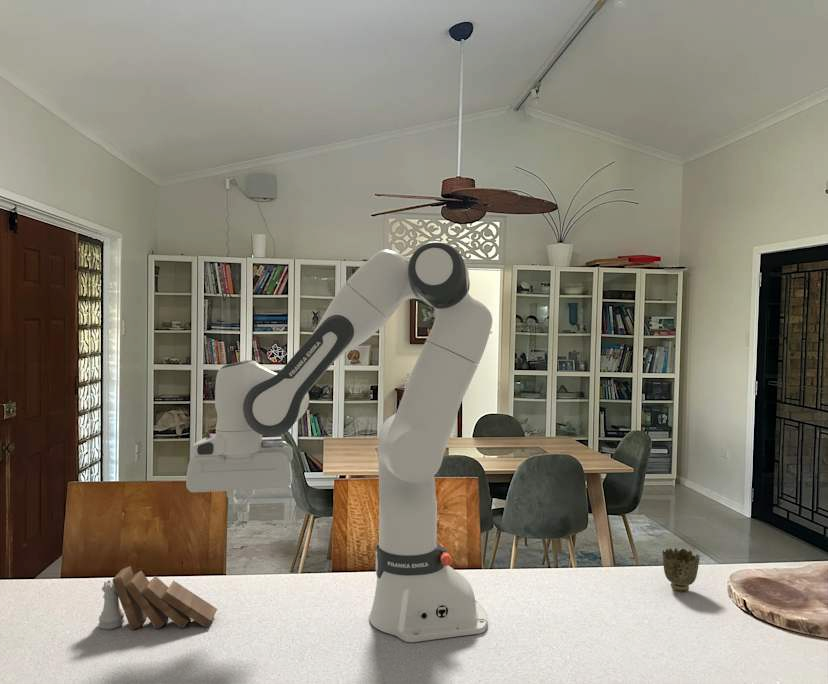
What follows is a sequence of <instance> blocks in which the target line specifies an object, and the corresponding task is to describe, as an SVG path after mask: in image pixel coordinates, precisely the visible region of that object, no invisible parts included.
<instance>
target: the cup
mask: <svg viewBox="0 0 828 684" xmlns="http://www.w3.org/2000/svg"><path fill="white" fill-rule="evenodd" d="M661 554H662V562H663V563H662V564H663V565H662V566H663V572H664V575H665V577H666V579H667V581H669V582H670V588H671V589H672V590H673V591H674V592H677V593H687V592H688V591H689V590H690V585H693V584H694V583H695V581H696V579H697V575H698V569H699V563H700V558H701V556H699V553H696V554H695V555H693V551H691V550H689V551H688V550H687V549H684V548H682V549H679V550H678V548H676V547H675V548H674V550H673V549H672V548H671V547H670V548H665V550H664V549H663V551H661Z"/></svg>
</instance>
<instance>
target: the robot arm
mask: <svg viewBox="0 0 828 684" xmlns="http://www.w3.org/2000/svg"><path fill="white" fill-rule="evenodd" d="M469 275H470V274H469V269H468V265H467V264H466V261H465V260H464V258H463V255H461V253H460V251H459V250H458V249H456V247H454V246H452V245H451V244H449V243H446V242H442V241H430V242H427V243H425V244H423V245H421V246H419V247H418V248H417V249H416V250H414V252H413V253H412V255H411V257H410V259H409V258H406V257H404V256H403V255H402V254H401V253H399V252H397V251H394V250H390V249H382V250H379V251H377V252H376V253H375V254H373V255H372V256H370V258H369V259H368V260H366V261H365V262H364V263H363V264H362V265H361V266H359V268H358V269H356V270H355V272H354V273H353V274H352V275H351V276H350V277H349V278H348V279H347V281H346V282H345V283H344V284H343V285H342V286H341V287H340V289H339V290H338V291H337V293H336V294H335V296H334V297H333V299H332V300H331V302H330V304H329V305H328V307H327V308H326V311H324V313H323V315H322V318H321V319H320V321H319V323H318V324H317V326H316V327H315V329H314V331H313V332H312V334H311V335H310V337H309V338H308V339H307V340H306V341H305V342H304V343H303V344H302V346H301V347H300V348H299V350H297V352H295V353H294V355H293V356H292V358H290V360H288V362H287V363H286V364H285V365H284V366H283V367H282V369H281V370H279V371H278V372H275V371H273V370H270V369H268V368H266V367H264V366H262V365H261V364H260V363H258V362H257V361H256V360H252V359H247V360H241V361H237V362H234V363H233V362H232V363H227V364H225V365H223V366H222V367H220V368H219V370H218V371H217V373H216V379H215V387H214V389H215V391H214V406H215V410H216V415H217V421H216V425H215V434H214V435H210V436H207V437H205V438H202V439H199V440H197V441H196V442H195V443H193V445H192V446H191V455H192V457H191V458H190V459H189V461H188V464H187V469H186V471H187V472H186V489H187V490H188V491H189V492H190V493H207V492H226V497H227V499H228V500H229V502H230V503H231V505H232V512H233V513H235V514H236V513H249V511H250V502H251V500H252V498H253V496H254V494H255V491H256V490H274V489H275V490H277V489H280V490H281V489H287V488H289V487H290V486H291V484H292V483H293V470H292V469H293V468H292V464H291V463H292V461H293V458H294V449H293V447H292V445H291V444H290V443H288V442H286V441H284V440H278V441H266V440H265V441H263V436H265V437H270V438H272V437H278V436H281V435H283V434H285V433H287V432H288V431H290V429H291V428H292V427H293V426H294V425H295V423H297V422H298V421H299V420H301V418H302V417H303V416H304V415H305V413H306V412H307V410H308V408H309V405H310V394H309V391H310V390H311V389H312V388H313V386H314V385H315V384H316V383H317V382H318V381H319V379H320V378H321V377H322V376H323V375H324V374H325V372H326V371H327V370H328V369H329V368H330V367H331V366H332V365H333V363H335V362H336V361H337V360H338V359H339V358H341V357H342V356H343V355H345V354H346V353H348V352H349V351H351V350H353V349H355V348H357V347H358V346H360V345H361V344H363V343H364V342H366V341H367V340H369V339H370V338H372V336H374V334H376V333H377V332H378V331H379V330H380V329H381V328H382V327H383V326H384V324H386V323H387V321H388V320H389V319H390V318H392V316H393V314H394V313H395V312H396V311H397V309H398V308H399V307H400V306H401V305H402V304H404V303H405V302H406V301H408V300H413V301H414V302H417V303H419V304H422V305H423V306H424V305H425V306H426V307H429V308H431V309H434V313H435V315H434V316H435V317H434V321H433V325H432V327H431V329H430V332H429V334H428V335H427V338H426V339H425V342H424V344H423V346H422V348H421V350H420V353H419V355H418V356H417V360H416V361H415V364H414V366H413V368H412V370H411V371H410V375H409V376H408V379H407V383H406V385H405V388H404V392H403V394H402V397H401V400H400V402H399V405H398V408H397V410H396V412H395V413H394V414H393V415H391V416H389V417H388V418H387V419H386V420H385V421H384V422H383V424H381V427H380V430H379V432H378V437H377V438H378V440H377V446H378V447H377V448H378V450H377V451H378V454H377V455H378V457H377V458H378V461H377V462H378V464H377V465H378V496H379V497H378V500H379V504H378V505H379V506H378V507H379V511H378V512H379V513H378V514H379V516H378V520H379V521H378V543H377V545H376V551H375V574H376V577H377V578H376V584H375V585H376V586H375V591H374V597H373V601H372V605H371V606H372V607H371V610H370V612H369V617H368V619H369V622H370V624H371V625H372V626H373V627H374V628H375V629H377V630H379V631H381V632H383V633H386V634H390V635H391V636H396V637H397V638H399V639H400V640H402V641H404V642H405V643H418V642H424V641H425V642H426V641H431V640H440V639H447V638H448V639H449V638H453V637H454V638H456V637H462V636H470V635H478V634H483V633H484V632H485V631H486V630H487V628H488V616H487V612H486V610H485V608H484V606H482V604H481V603H480V602H479V601H477V600H476V598H475V593H474V590H473V587H472V585H471V583H470V582H469V581H468V579H467V578H466V577H465V576H463V575H462V574H461V573H459V572H458V571H456V570H455V569H454V568H453V567H451V566H450V565H451V564H453V563H452V562H453V558H452V556H451V554H450V552H447V549H446V548H445V547H444V545H443V544H442V543H441V542H440V543H438V542H437V528H438V527H437V526H438V523H437V522H438V517H437V516H438V502H437V501H438V500H437V492H436V480H435V475H436V474H437V473H438V471H440V468H441V466H442V464H443V460H444V456H445V455H444V454H445V452H446V449H447V446H448V444H449V441H450V438H451V436H452V435H451V434H452V433H453V429H454V426H455V422H456V420H457V418H458V412H459V409H460V407H461V404H462V402H463V400H464V397H465V395H466V393H467V390H468V388H469V386H470V384H471V381H472V380H473V377H474V375H475V373H476V372H477V369H478V367H479V366H478V365H479V364H480V362H481V360H482V357H483V354H484V353H485V349H486V348H487V344H488V341H489V337H490V333H491V329H492V325H493V316H492V313H491V311H490V310H489V309H488V307H487V306H486V305H484V303H482V302H481V301H479V300H477V299H475V298H473V297H472V296H471V295H470V294H469V291H470V284H471V283H470V276H469ZM236 491H245V495H246V496H247V498H246V500H245V501H238V500H237V499H236V496H235V494H237V493H236Z"/></svg>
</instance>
